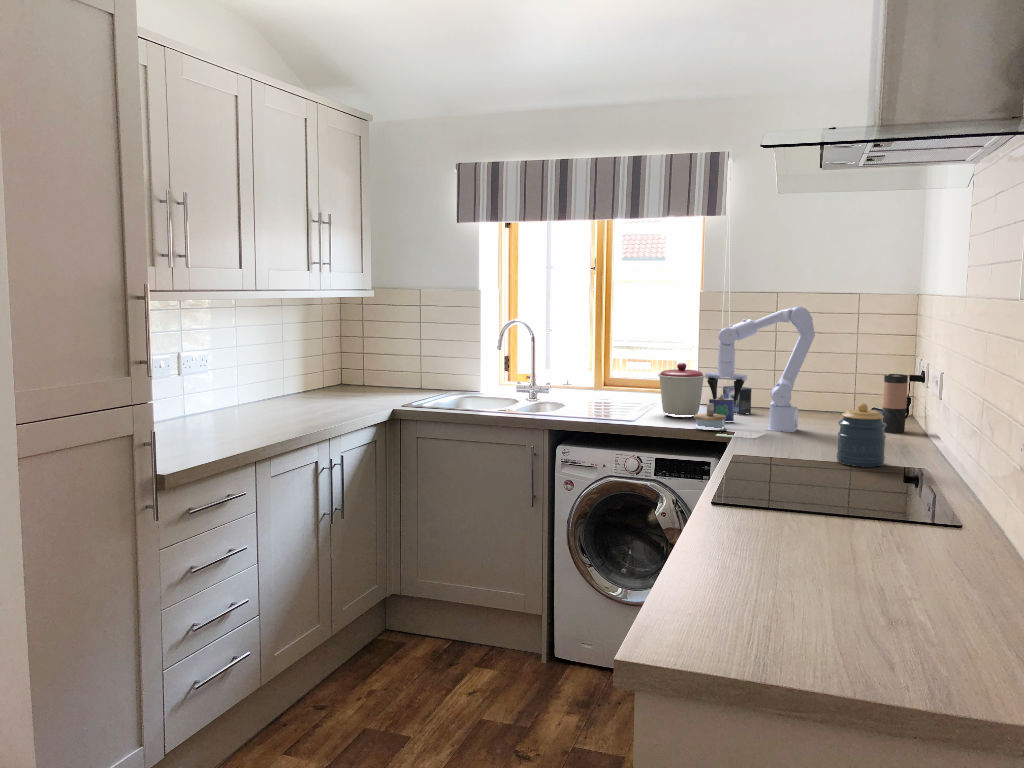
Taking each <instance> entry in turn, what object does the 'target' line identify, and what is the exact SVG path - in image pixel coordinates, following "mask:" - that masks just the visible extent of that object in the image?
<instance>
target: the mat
mask: <svg viewBox="0 0 1024 768" xmlns="http://www.w3.org/2000/svg"><path fill="white" fill-rule="evenodd" d="M715 436H716V437H717V436H718V437H727V438H734V437H733V435H727V434H719V433H717V434H715Z"/></svg>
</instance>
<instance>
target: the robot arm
mask: <svg viewBox="0 0 1024 768" xmlns="http://www.w3.org/2000/svg"><path fill="white" fill-rule="evenodd" d="M780 322H781V323H791V324H792V325H794V327H795V329H796V331H797V333H798V339H797V341H796V343H795V345H794V347H793V350H792V352H791V353H790V357H789V359H788V361H787V362H786V366H785V368H784V370H783V372H782V374H781V377H780V378H779V379H778V382H777V383H776V384H775V386H773V387H772V388H771V390H770V397H771V399H772V400H771V402H770V403H769V416H768V418H769V419H768V420H769V422H768V427H767V428H765V431H768V430H772V431H771V432H779V431H783V432H782V433H790V432H793V433H795V432H796V431H798V430H799V427H798V426H799V425H798V423H799V408H798V407H797V406H792V403H791V400H792V392H793V388H794V384H795V382H796V379H797V378H798V374H799V372H800V370H801V367H802V365H803V364H804V362H805V359H806V357H807V355H808V352H809V350H810V348H811V346H812V343H813V341H814V339H815V336H816V333H815V328H814V322H813V316H812V315H811V313H810V311H809V310H808V309H807V308H806V307H803V306H799V305H798V306H793V307H792V308H791V307H790V308H789V307H788V308H784V309H782V310H778V311H776V312H773V313H771V314H768V315H766V316H764V317H761V318H758V319H756V320H752V319H750V318H749V319H746V318H744V319H742V321H740V322H738V323H735V324H729V327H724V328H722V329H720V331H719V333H718V335H717V337H718V340H719V343H718V350H717V351H718V352H717V353H718V355H717V356H718V357H717V372H705V373H704V375H705V377H704V379H706V381H707V384H708V386H709V388H710V391H711V396H712V398H713V399H718V398H717V397H718V383H719V382H718V381H719V380H729V381H731V380H732V381H733V385H734V401H737V400H738V396H739V393H740V390H741V388H742V387H744V385H745V382H746V381H747V380H748V375H747V374H739V373H735V366H736V365H735V362H736V361H735V360H736V358H735V357H736V356H735V355H736V348H735V342H736V341H740V340H743V339H746V338H749V337H751V336H754V335H756V334H757V332H758V330H759V329H763V328H766V327H768V326H771V325H774V324H777V323H780Z"/></svg>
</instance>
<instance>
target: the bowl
mask: <svg viewBox="0 0 1024 768" xmlns="http://www.w3.org/2000/svg"><path fill="white" fill-rule="evenodd" d="M696 424H697V425H698V426H705V427H714V428H722V427H724V428H725V424H726V423H725V420H719V421H707V420H699V419H695V425H696Z"/></svg>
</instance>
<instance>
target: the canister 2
mask: <svg viewBox="0 0 1024 768" xmlns="http://www.w3.org/2000/svg"><path fill="white" fill-rule="evenodd" d="M868 408H869V407H868V405H867V403H864V402H862V403H859V404H858V406H857V408H855V409H854V408H852V409H847V410H846V411H845V412H842V414H841V416H842V419H841V420H839V421H838V422H837V423H838V425H839V430H838V432H837V435H838V436H837V453H836V458H837V459H836V460H837V462H838V461H839V462H841V463H844V464H849V465H855V466H864V467H863V468H877V467H876V466H880V467H882V466H884V463H885V461H886V459H885V458H886V456H885V449H886V448H885V447H886V438H887V435H886V434H885V432H884V428H885V427H886V426H887V425H886V423H884V422H883V421H882V418H884V416H883V415H882V414H881V413H880V412H879V411H878V410H873V409H868ZM839 462H838V463H839ZM841 463H840V464H841ZM844 464H843V465H844ZM873 466H874V467H873Z"/></svg>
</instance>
